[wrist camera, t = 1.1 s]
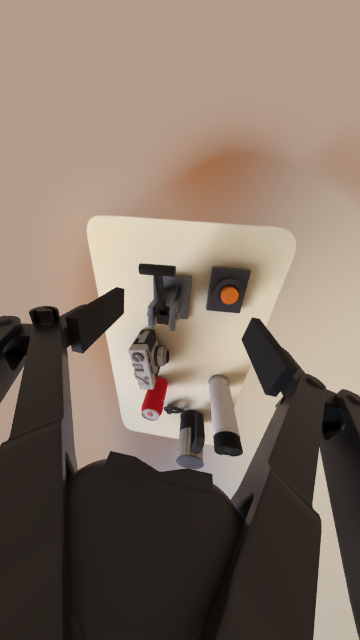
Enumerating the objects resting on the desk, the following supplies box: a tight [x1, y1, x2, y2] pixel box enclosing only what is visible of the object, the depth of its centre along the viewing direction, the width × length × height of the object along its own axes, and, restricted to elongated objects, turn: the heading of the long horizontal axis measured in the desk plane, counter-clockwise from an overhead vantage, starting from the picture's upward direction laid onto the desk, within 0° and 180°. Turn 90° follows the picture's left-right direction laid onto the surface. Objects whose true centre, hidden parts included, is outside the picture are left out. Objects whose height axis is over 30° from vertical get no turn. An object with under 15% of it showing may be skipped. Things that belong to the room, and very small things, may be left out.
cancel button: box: [220, 286, 239, 304], centre depth 33 cm, size 4×4×2 cm
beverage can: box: [142, 377, 168, 421], centre depth 49 cm, size 6×6×12 cm
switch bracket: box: [147, 275, 191, 331], centre depth 33 cm, size 11×9×13 cm
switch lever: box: [139, 264, 176, 325], centre depth 25 cm, size 12×5×2 cm, turn 176°
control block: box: [206, 266, 251, 313], centre depth 35 cm, size 10×8×4 cm
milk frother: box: [164, 406, 205, 469], centre depth 55 cm, size 14×16×15 cm
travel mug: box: [209, 375, 243, 456], centre depth 42 cm, size 6×7×20 cm
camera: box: [129, 329, 169, 389], centre depth 43 cm, size 14×8×10 cm, turn 5°
